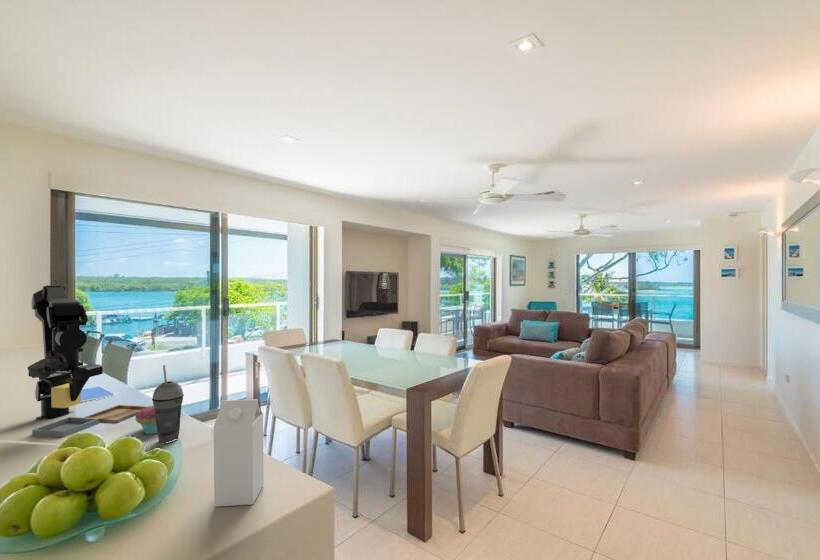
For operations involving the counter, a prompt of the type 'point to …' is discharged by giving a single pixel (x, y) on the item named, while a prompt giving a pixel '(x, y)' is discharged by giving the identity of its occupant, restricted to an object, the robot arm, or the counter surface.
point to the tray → (117, 413)
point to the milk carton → (238, 453)
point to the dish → (65, 427)
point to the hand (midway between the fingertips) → (66, 400)
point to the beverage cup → (168, 409)
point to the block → (63, 397)
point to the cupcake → (147, 420)
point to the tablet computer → (94, 394)
